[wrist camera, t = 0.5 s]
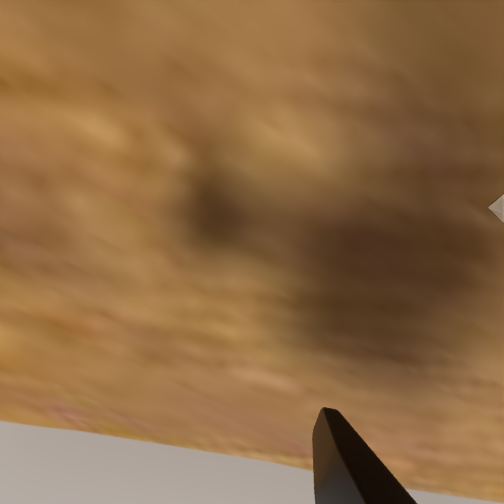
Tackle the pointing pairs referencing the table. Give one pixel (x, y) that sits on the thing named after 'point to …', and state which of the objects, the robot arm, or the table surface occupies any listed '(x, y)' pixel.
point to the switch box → (498, 208)
